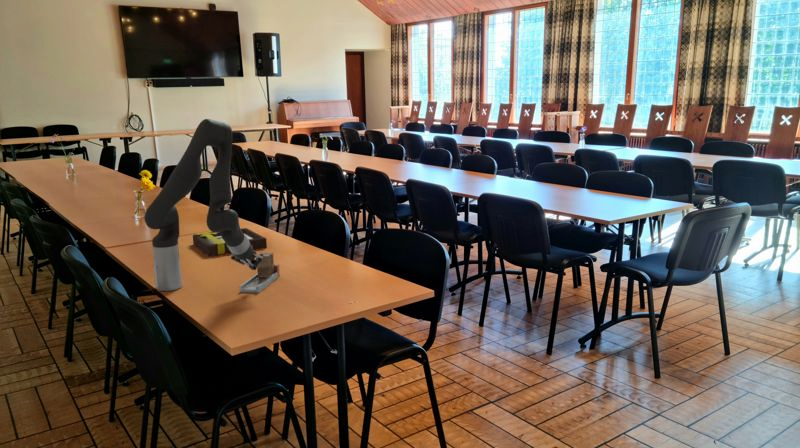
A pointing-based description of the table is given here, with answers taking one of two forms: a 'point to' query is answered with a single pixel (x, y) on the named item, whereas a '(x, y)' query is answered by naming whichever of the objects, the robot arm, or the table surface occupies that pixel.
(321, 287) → the table surface
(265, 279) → the track
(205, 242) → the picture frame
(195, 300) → the table surface
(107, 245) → the table surface
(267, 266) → the slider block
